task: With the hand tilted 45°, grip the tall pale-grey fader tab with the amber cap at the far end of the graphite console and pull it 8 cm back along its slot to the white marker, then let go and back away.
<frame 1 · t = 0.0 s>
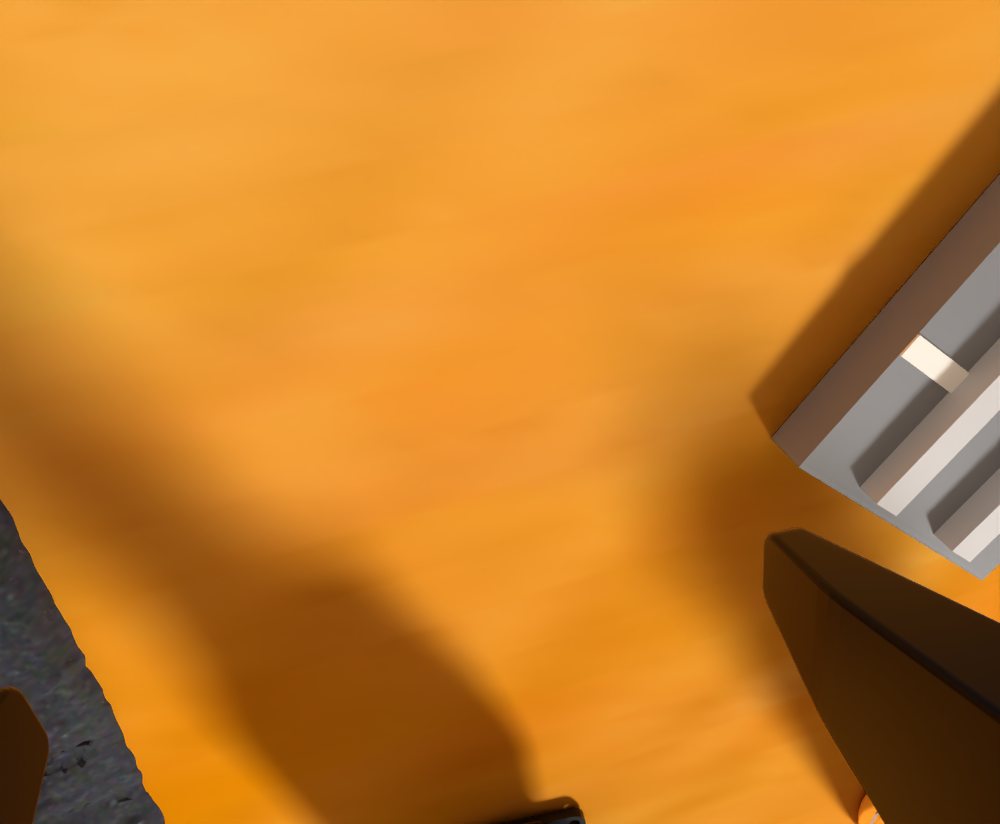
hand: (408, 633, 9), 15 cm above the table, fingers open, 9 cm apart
water bottle: (914, 792, 37), on the table
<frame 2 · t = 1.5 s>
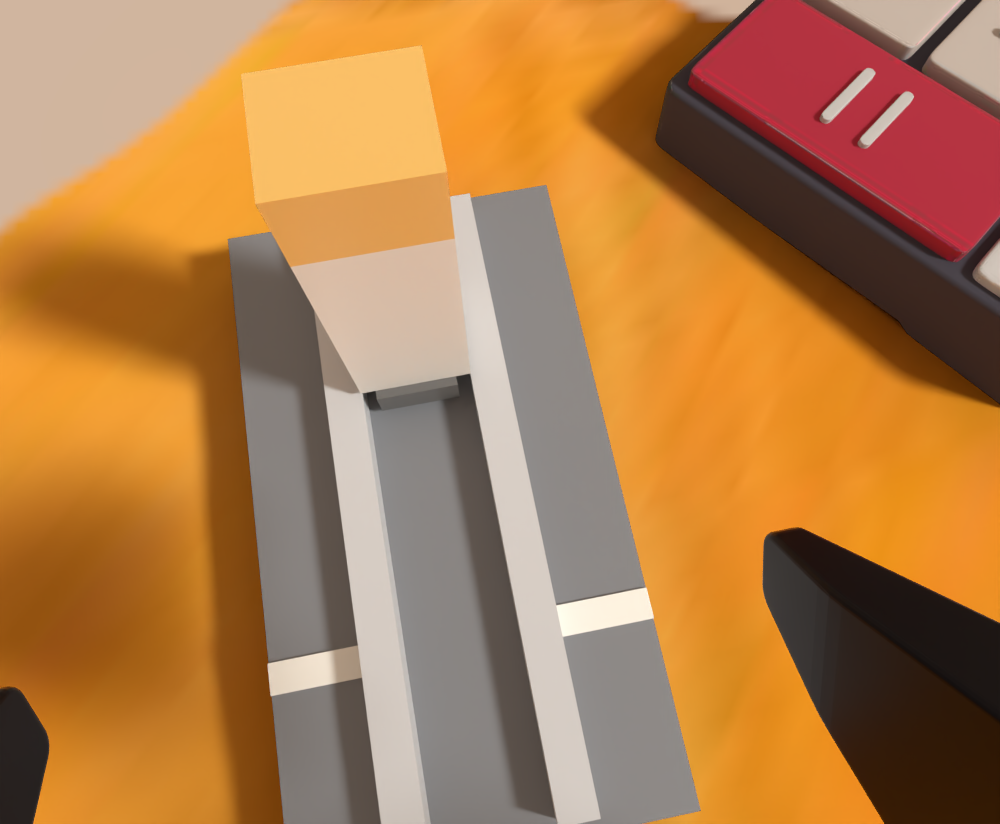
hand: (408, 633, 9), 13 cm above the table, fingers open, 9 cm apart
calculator: (907, 176, 27), on the table
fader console: (442, 505, 23), on the table
fader tab: (387, 271, 17), point 7 cm above the table, slide at 0.0 cm
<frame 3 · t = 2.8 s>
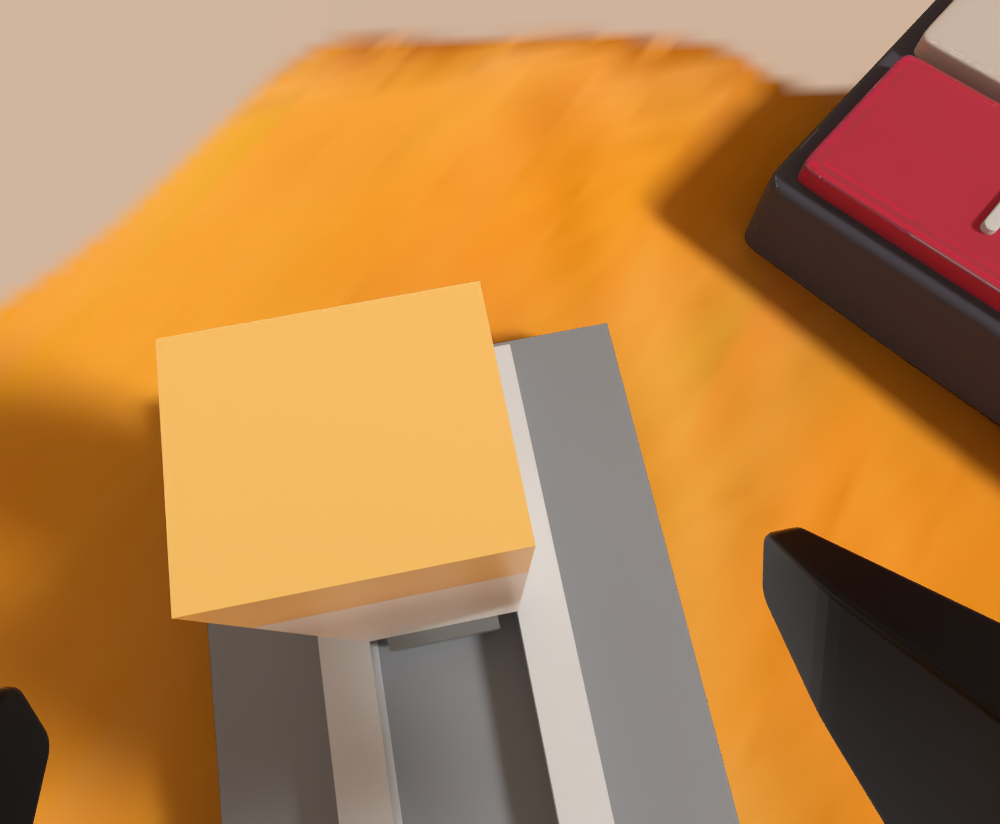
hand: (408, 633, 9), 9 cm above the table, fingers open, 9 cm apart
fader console: (474, 756, 17), on the table
fader tab: (407, 530, 11), point 7 cm above the table, slide at 0.0 cm
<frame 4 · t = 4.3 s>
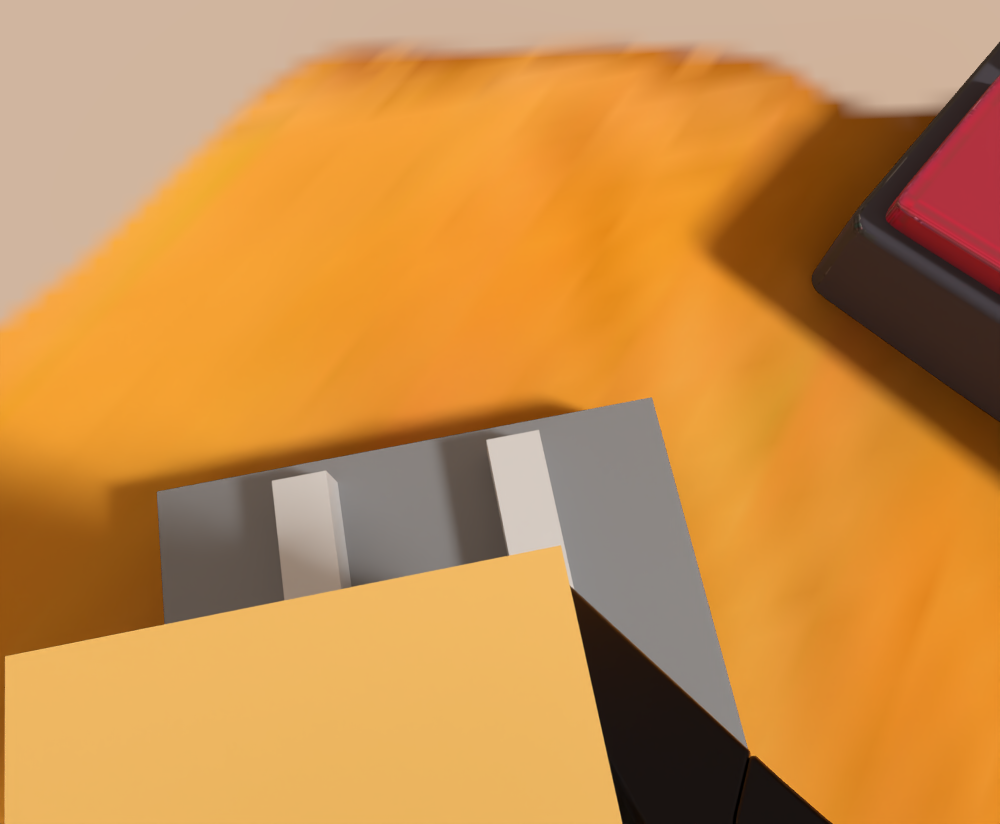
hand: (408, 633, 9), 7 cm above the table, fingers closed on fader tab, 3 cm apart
fader tab: (422, 740, 8), point 7 cm above the table, slide at 0.0 cm, touching gripper
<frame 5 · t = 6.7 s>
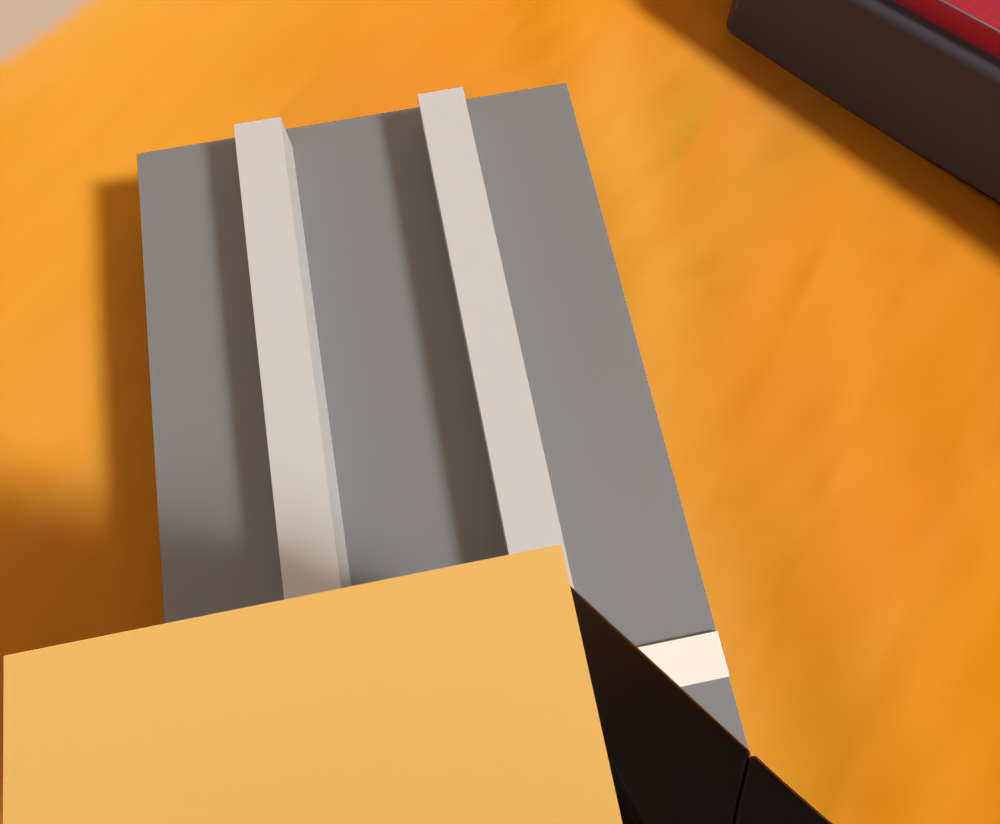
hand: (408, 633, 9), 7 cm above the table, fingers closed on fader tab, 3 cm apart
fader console: (427, 512, 17), on the table
fader tab: (422, 740, 8), point 7 cm above the table, slide at 8.0 cm, touching gripper
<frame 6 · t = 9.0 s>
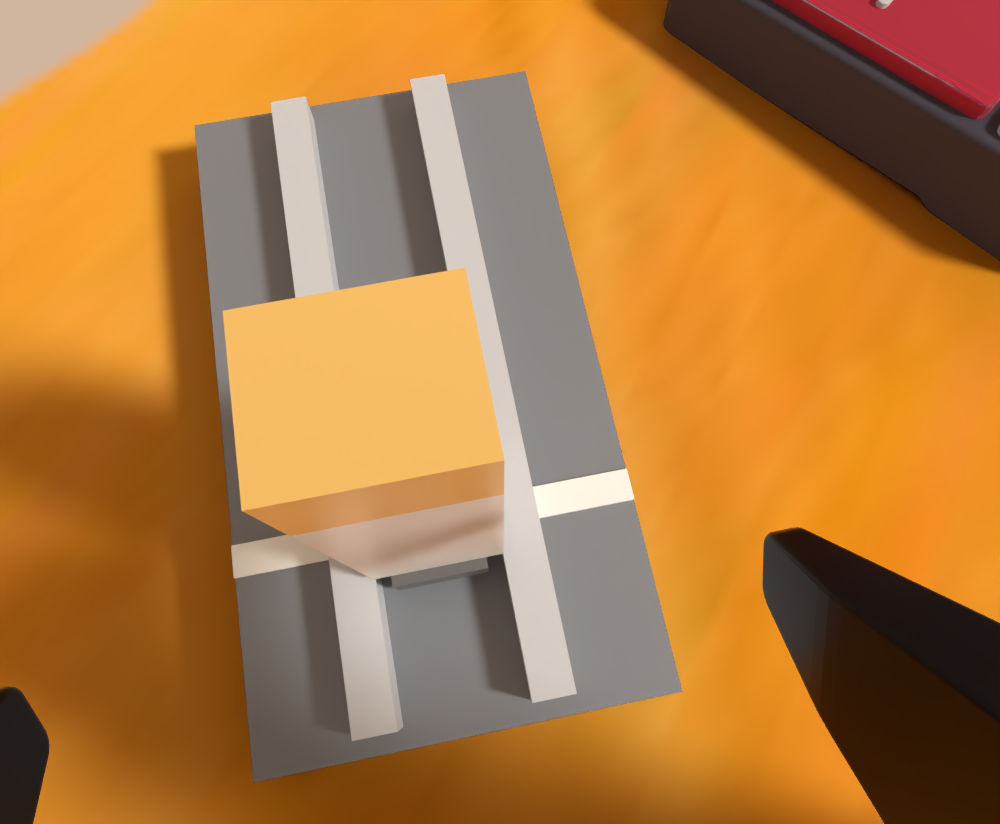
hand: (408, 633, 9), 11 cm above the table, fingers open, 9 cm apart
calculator: (921, 59, 26), on the table
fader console: (417, 398, 22), on the table
fader tab: (409, 475, 14), point 7 cm above the table, slide at 8.0 cm
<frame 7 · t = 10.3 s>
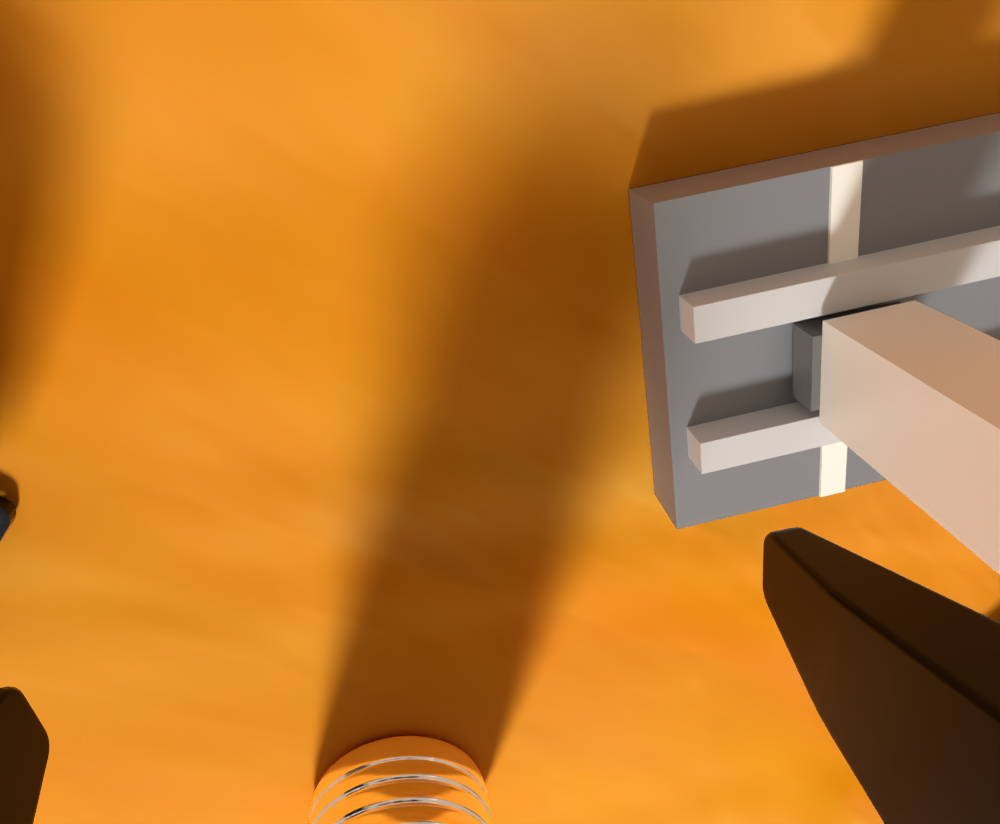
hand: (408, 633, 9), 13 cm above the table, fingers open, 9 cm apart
water bottle: (399, 785, 29), on the table
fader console: (924, 294, 23), on the table
fader tab: (973, 432, 16), point 7 cm above the table, slide at 8.0 cm
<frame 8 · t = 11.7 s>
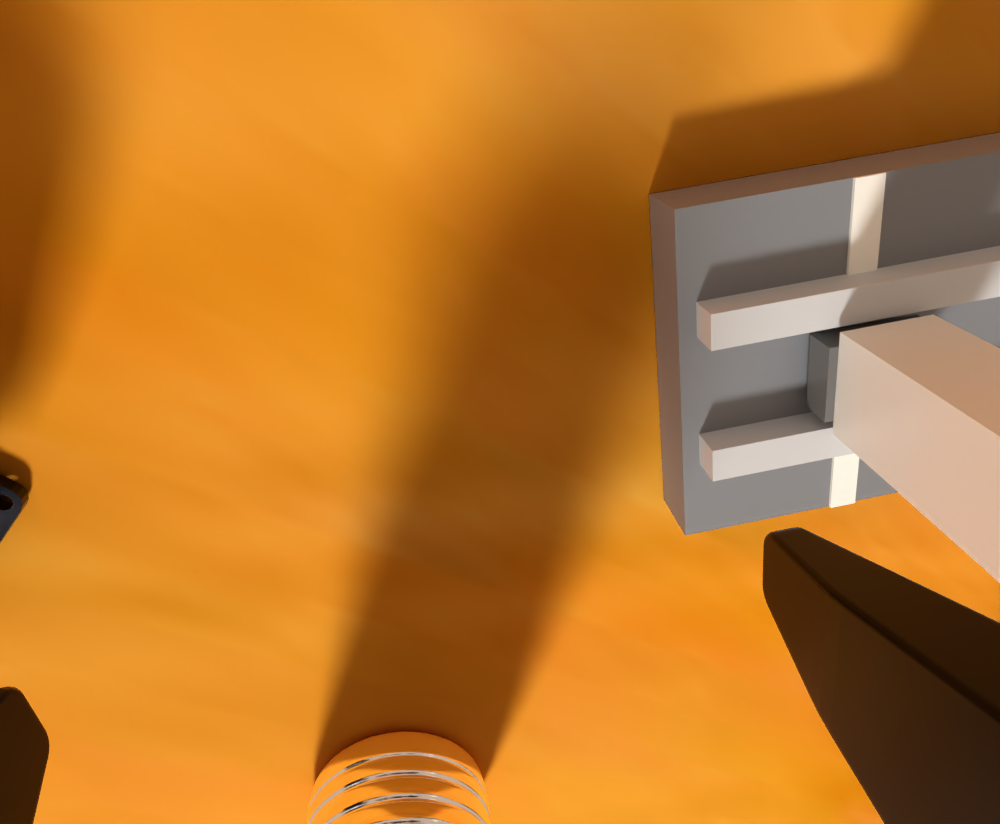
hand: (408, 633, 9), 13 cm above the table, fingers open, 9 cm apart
water bottle: (398, 780, 29), on the table
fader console: (941, 308, 23), on the table
fader tab: (988, 450, 16), point 7 cm above the table, slide at 8.0 cm
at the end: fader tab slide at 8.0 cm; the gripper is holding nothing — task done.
